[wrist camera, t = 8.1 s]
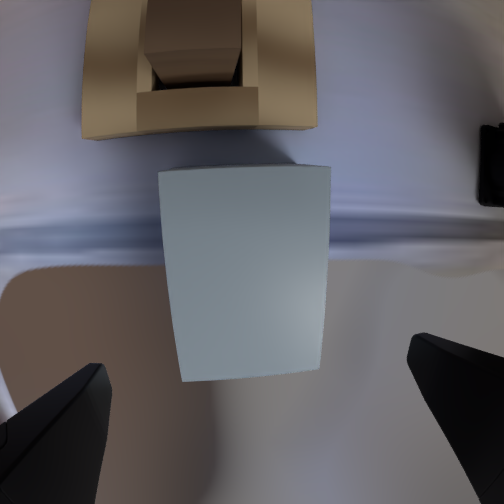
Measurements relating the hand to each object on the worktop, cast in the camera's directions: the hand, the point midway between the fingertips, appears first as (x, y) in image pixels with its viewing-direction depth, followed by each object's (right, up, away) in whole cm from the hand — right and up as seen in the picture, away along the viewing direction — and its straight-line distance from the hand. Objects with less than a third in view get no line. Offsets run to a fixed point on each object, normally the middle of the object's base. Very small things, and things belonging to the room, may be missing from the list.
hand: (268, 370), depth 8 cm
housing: (-1, +3, +11) cm, 12 cm away
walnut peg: (-3, +15, +7) cm, 17 cm away
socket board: (-4, +19, +6) cm, 21 cm away
